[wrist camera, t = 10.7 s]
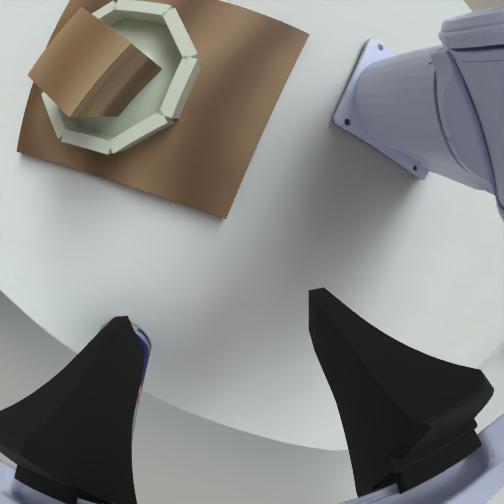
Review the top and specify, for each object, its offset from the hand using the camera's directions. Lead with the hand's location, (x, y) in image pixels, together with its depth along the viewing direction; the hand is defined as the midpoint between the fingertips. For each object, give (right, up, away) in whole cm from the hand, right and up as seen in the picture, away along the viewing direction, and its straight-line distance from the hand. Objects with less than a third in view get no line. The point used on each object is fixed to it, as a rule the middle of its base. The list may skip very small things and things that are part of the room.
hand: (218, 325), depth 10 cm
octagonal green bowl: (-7, +14, +3) cm, 16 cm away
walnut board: (-6, +14, +4) cm, 16 cm away
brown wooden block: (-7, +14, +2) cm, 15 cm away
